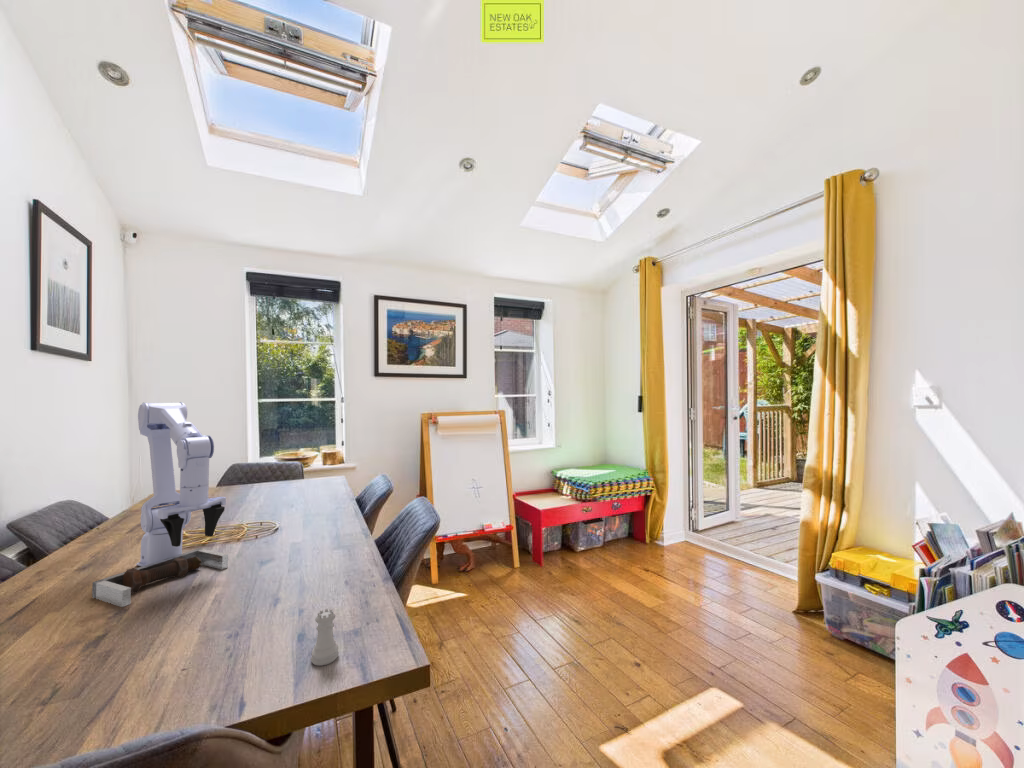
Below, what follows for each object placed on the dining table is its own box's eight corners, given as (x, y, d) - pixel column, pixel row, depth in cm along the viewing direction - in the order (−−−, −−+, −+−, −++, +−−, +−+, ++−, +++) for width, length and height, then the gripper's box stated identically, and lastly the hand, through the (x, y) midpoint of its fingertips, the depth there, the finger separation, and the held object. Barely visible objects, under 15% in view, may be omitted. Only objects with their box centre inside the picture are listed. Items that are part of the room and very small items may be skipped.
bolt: (199, 577, 111) (128, 599, 98) (190, 564, 113) (119, 585, 100) (207, 559, 110) (135, 579, 97) (198, 546, 112) (127, 565, 99)
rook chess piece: (316, 651, 76) (317, 606, 76) (342, 650, 76) (342, 605, 76) (306, 667, 71) (307, 619, 71) (333, 666, 72) (334, 618, 72)
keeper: (92, 597, 96) (92, 582, 96) (199, 561, 117) (199, 548, 117) (122, 607, 91) (122, 590, 92) (227, 567, 113) (228, 554, 113)
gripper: (171, 493, 97) (170, 553, 97) (234, 481, 110) (233, 533, 110) (153, 490, 100) (151, 548, 99) (216, 479, 113) (215, 530, 113)
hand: (193, 540), depth 105 cm, fingers open, 7 cm apart
